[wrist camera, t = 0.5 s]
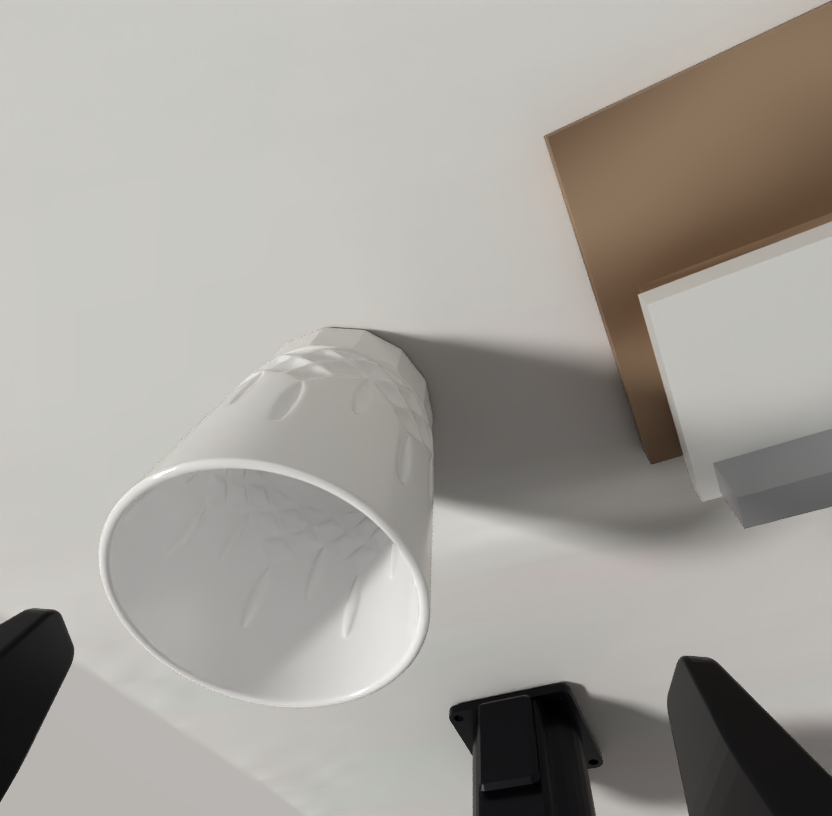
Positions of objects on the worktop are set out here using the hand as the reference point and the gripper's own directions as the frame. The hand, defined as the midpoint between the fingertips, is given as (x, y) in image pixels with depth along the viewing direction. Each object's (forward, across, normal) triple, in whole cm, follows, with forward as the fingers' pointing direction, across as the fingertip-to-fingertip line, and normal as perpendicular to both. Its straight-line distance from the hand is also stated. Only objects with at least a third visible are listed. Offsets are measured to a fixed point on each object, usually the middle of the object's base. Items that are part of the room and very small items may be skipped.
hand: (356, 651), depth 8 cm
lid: (+11, -11, -1) cm, 16 cm away
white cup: (+14, +3, +3) cm, 15 cm away
